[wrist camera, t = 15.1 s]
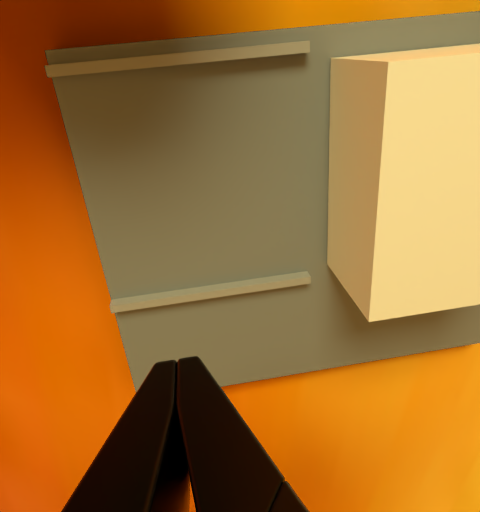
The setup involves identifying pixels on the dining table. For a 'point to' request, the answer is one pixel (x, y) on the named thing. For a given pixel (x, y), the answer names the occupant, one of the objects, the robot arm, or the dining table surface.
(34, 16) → the dining table surface
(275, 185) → the base plate
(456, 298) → the cover
